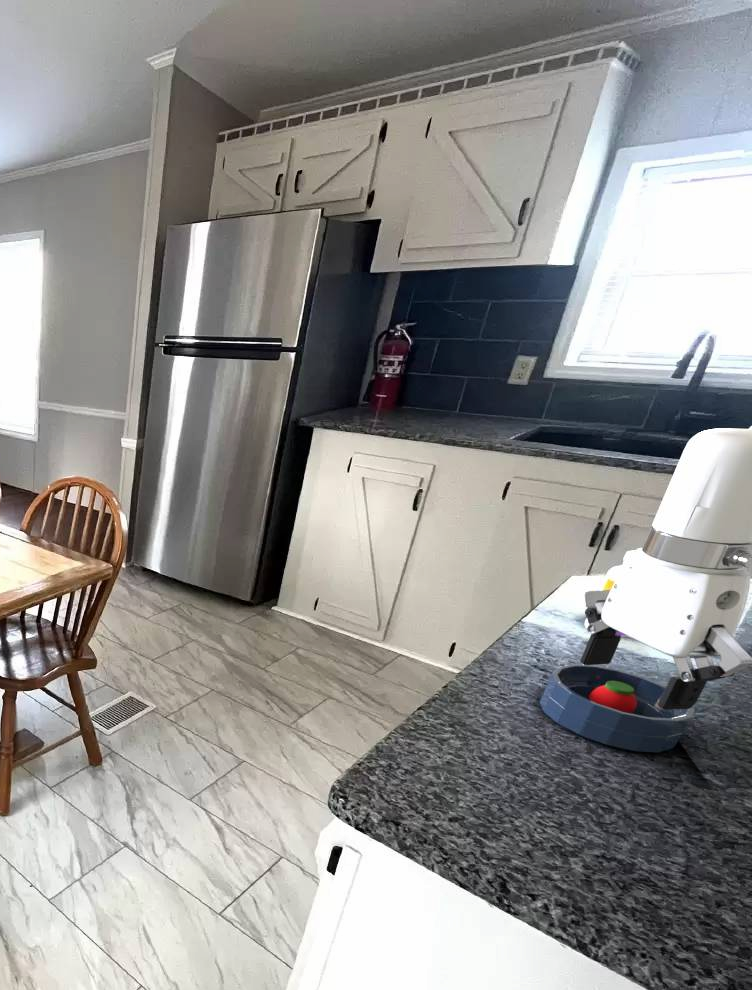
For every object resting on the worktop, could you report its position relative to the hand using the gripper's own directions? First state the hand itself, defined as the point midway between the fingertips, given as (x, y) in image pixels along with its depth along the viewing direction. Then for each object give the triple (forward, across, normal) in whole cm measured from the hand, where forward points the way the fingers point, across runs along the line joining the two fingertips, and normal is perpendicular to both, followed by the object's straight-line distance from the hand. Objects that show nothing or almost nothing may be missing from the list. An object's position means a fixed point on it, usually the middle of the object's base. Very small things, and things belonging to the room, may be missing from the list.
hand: (631, 684), depth 75 cm
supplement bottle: (+7, +23, -21) cm, 32 cm away
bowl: (+6, 0, +1) cm, 6 cm away
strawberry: (+5, 0, +1) cm, 5 cm away
